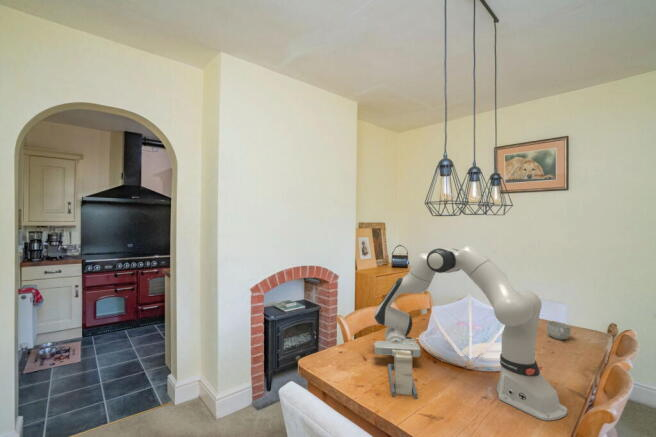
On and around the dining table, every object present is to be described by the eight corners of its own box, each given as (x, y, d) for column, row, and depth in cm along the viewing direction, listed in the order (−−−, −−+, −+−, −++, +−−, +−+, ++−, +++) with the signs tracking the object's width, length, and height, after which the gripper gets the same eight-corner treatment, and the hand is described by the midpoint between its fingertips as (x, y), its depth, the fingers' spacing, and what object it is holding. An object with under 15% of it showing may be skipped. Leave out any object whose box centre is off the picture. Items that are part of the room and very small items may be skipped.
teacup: (547, 332, 185) (547, 319, 185) (570, 337, 178) (570, 323, 178) (546, 340, 173) (546, 325, 173) (571, 345, 167) (571, 330, 167)
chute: (386, 370, 138) (386, 363, 138) (410, 372, 137) (410, 365, 137) (390, 399, 116) (390, 391, 116) (418, 401, 115) (418, 393, 115)
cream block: (394, 385, 124) (394, 350, 124) (409, 386, 124) (410, 350, 123) (395, 393, 118) (396, 356, 118) (411, 394, 118) (412, 357, 118)
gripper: (373, 335, 150) (374, 348, 136) (417, 338, 147) (422, 350, 133) (373, 348, 150) (374, 362, 136) (417, 351, 147) (422, 365, 134)
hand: (398, 356), depth 135 cm, fingers closed
